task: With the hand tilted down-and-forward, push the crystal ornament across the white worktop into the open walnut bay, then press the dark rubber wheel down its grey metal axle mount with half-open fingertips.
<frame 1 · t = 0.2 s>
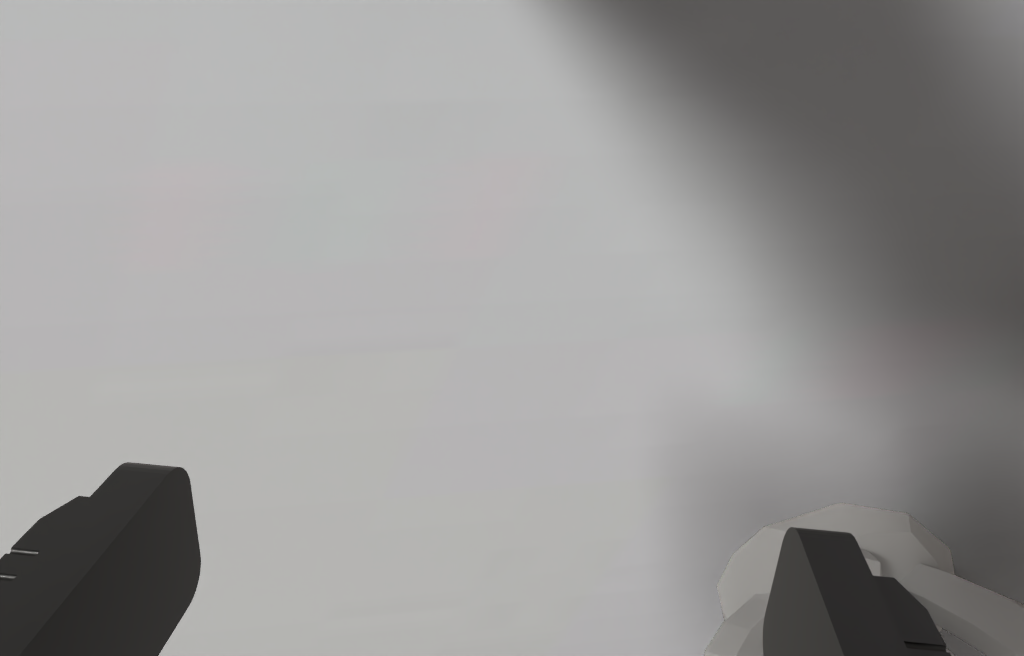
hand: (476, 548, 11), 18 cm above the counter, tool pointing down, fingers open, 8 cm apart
crystal: (843, 586, 34), on the counter
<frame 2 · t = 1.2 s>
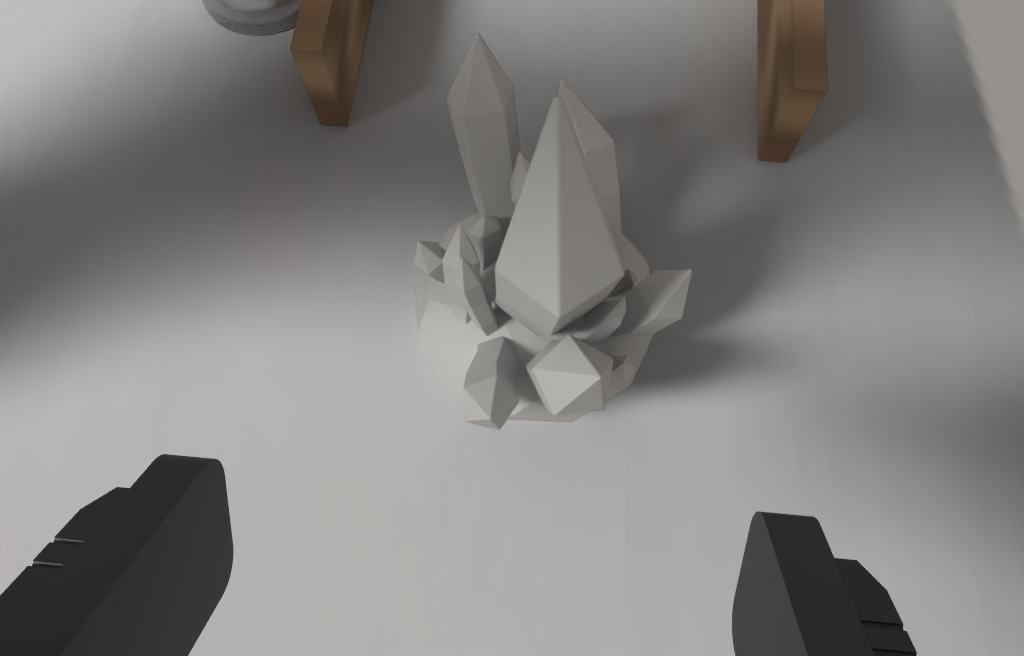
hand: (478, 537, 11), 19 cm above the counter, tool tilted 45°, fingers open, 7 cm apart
crystal: (531, 297, 33), on the counter
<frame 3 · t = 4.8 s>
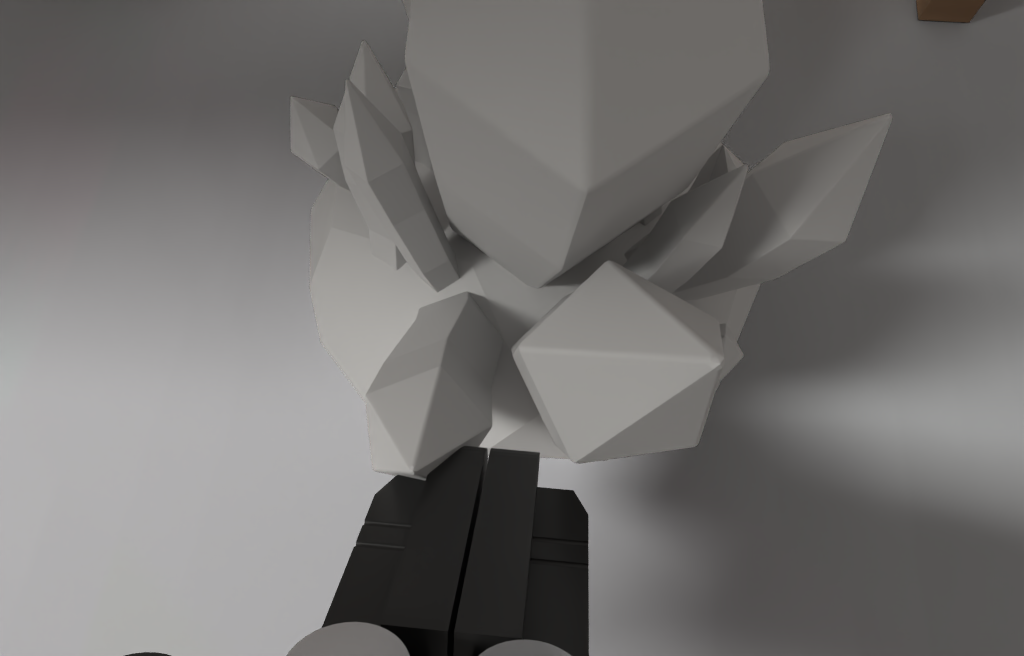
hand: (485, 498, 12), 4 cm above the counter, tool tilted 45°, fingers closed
crystal: (525, 227, 18), on the counter
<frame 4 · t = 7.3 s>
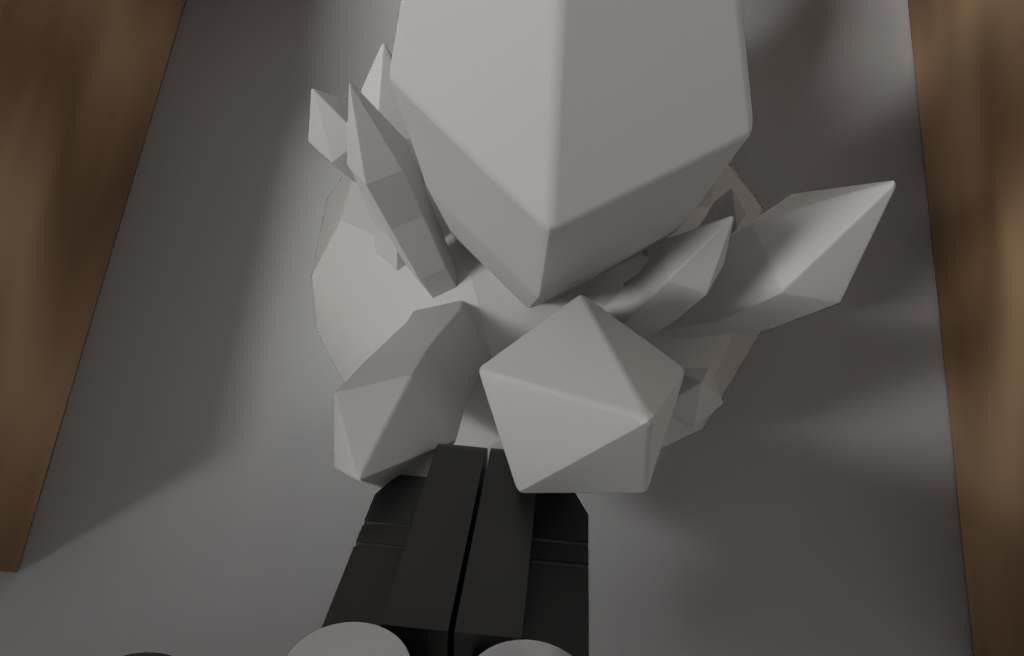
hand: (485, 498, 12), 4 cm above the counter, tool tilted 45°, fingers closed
crystal: (535, 243, 18), on the counter, touching gripper
bay: (518, 235, 18), on the counter
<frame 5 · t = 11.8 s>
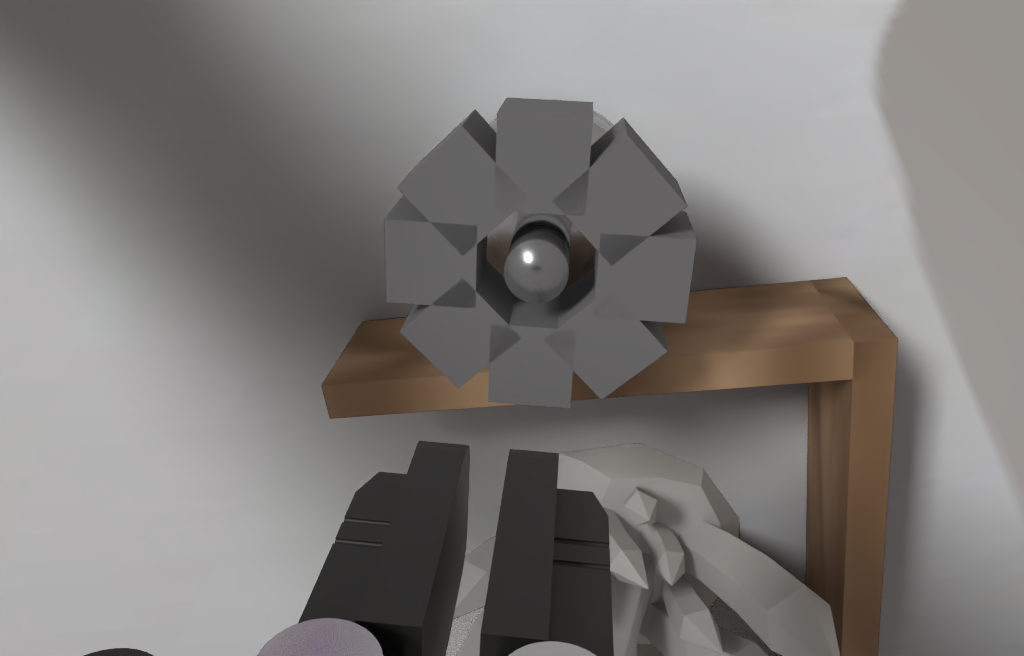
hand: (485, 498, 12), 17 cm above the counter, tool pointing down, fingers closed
crystal: (628, 538, 33), on the counter
bay: (603, 532, 33), on the counter
wheel: (538, 256, 21), point 7 cm above the counter, slide at 0.0 cm
axle mount: (550, 191, 27), on the counter
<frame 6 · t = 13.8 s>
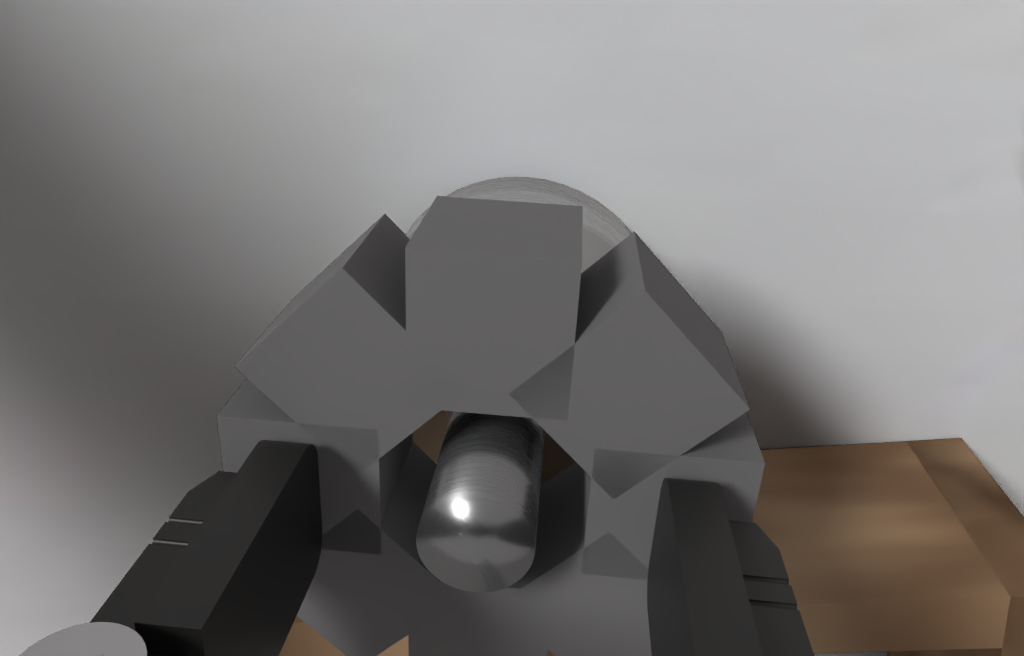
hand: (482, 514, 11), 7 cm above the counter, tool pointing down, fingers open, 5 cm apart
wheel: (491, 457, 13), point 6 cm above the counter, slide at 0.8 cm, touching gripper
axle mount: (519, 309, 18), on the counter
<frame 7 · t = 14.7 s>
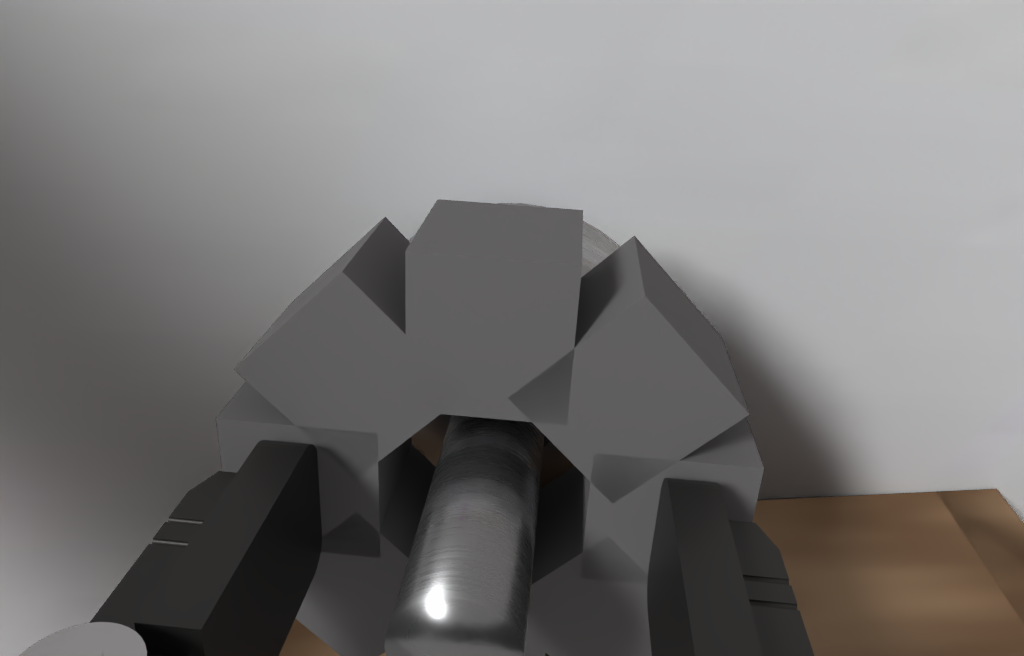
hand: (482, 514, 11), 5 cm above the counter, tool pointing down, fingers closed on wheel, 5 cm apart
wheel: (490, 460, 13), point 4 cm above the counter, slide at 2.6 cm, touching gripper
axle mount: (512, 346, 16), on the counter
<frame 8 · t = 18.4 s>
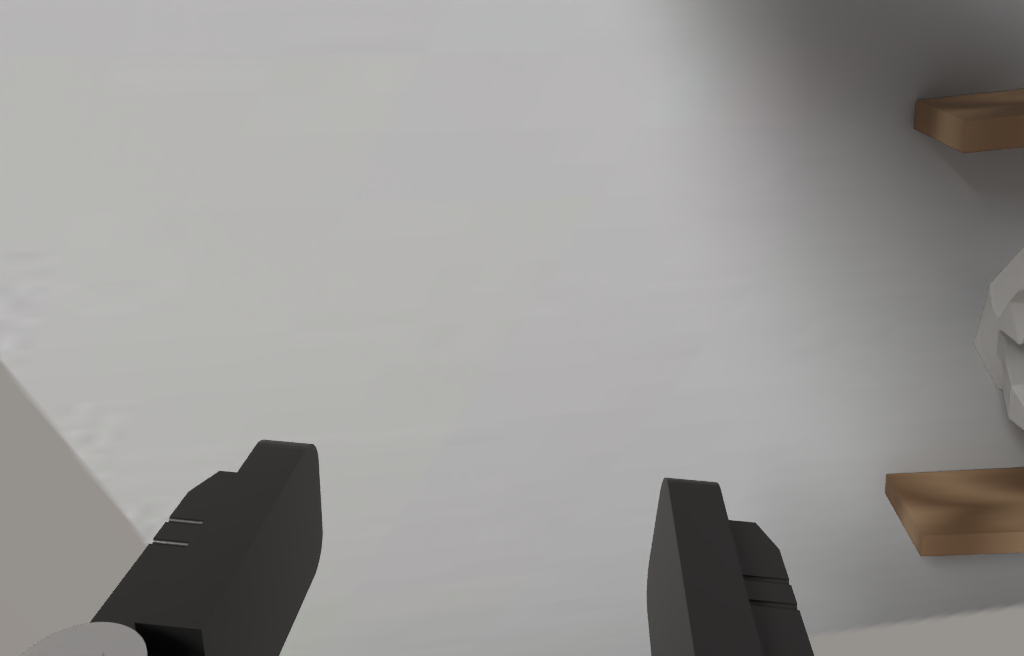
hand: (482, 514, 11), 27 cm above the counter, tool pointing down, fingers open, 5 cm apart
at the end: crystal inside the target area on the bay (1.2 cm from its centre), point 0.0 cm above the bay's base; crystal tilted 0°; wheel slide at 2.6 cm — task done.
